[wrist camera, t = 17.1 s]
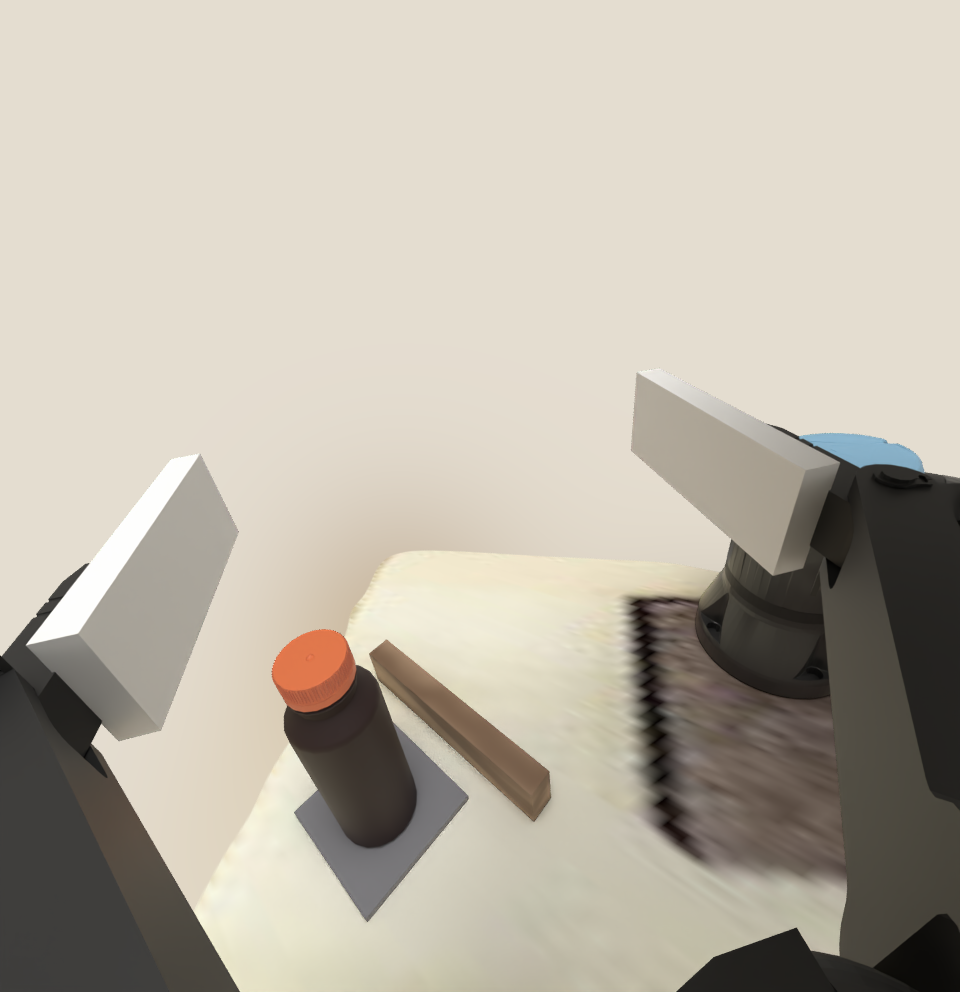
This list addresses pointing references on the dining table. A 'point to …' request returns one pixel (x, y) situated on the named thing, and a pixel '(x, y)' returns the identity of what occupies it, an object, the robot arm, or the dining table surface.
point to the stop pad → (385, 866)
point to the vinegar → (345, 737)
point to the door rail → (465, 730)
